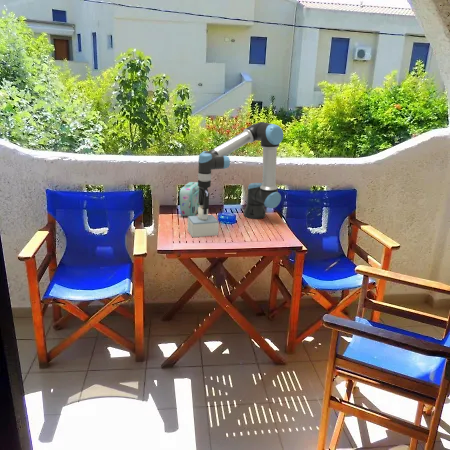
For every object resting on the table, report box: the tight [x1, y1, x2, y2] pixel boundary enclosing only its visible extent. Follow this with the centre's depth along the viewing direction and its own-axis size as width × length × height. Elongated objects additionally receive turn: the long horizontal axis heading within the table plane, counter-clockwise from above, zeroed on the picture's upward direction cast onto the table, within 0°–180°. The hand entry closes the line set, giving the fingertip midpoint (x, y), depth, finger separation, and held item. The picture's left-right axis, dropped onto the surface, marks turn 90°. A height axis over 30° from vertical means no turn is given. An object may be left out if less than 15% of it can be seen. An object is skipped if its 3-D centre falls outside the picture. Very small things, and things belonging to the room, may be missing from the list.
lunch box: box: [179, 181, 200, 217], centre depth 288 cm, size 27×10×21 cm, turn 168°
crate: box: [186, 217, 220, 238], centre depth 256 cm, size 16×12×8 cm
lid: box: [187, 214, 219, 224], centre depth 254 cm, size 16×12×1 cm
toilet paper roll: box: [197, 206, 209, 220], centre depth 253 cm, size 6×6×7 cm
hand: (203, 217), depth 254 cm, fingers closed on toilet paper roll, 6 cm apart
